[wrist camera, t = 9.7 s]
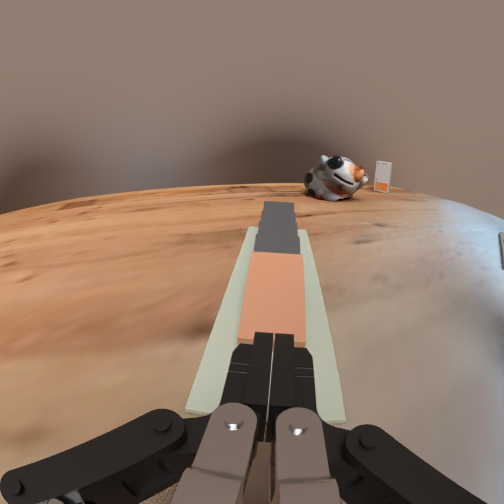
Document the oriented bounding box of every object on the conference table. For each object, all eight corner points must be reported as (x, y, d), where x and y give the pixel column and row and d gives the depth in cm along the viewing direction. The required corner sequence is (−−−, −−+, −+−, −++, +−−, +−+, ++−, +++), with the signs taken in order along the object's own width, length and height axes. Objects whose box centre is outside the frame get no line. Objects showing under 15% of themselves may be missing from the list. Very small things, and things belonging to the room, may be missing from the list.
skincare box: (373, 190, 102) (376, 160, 98) (375, 189, 105) (378, 160, 101) (387, 193, 99) (391, 163, 94) (389, 192, 102) (392, 163, 98)
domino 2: (296, 254, 35) (295, 212, 43) (256, 252, 36) (262, 210, 43) (295, 264, 36) (294, 221, 44) (256, 261, 37) (261, 219, 44)
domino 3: (299, 274, 30) (297, 222, 38) (252, 271, 30) (259, 220, 38) (297, 285, 31) (296, 232, 39) (252, 282, 31) (259, 230, 39)
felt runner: (344, 423, 15) (345, 419, 15) (185, 412, 16) (184, 408, 15) (305, 232, 50) (306, 229, 50) (249, 228, 51) (249, 226, 50)
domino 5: (305, 342, 20) (302, 254, 28) (237, 337, 20) (251, 251, 28) (302, 353, 21) (301, 266, 29) (238, 349, 21) (251, 263, 29)
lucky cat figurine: (350, 194, 88) (371, 156, 77) (351, 220, 79) (377, 178, 68) (303, 175, 88) (320, 134, 77) (298, 198, 79) (318, 152, 67)
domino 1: (294, 238, 41) (293, 202, 48) (259, 236, 41) (264, 201, 48) (293, 247, 42) (293, 210, 49) (259, 245, 42) (264, 209, 50)
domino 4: (302, 302, 25) (299, 236, 33) (245, 299, 25) (256, 233, 33) (300, 314, 26) (298, 247, 34) (246, 310, 26) (255, 245, 34)
